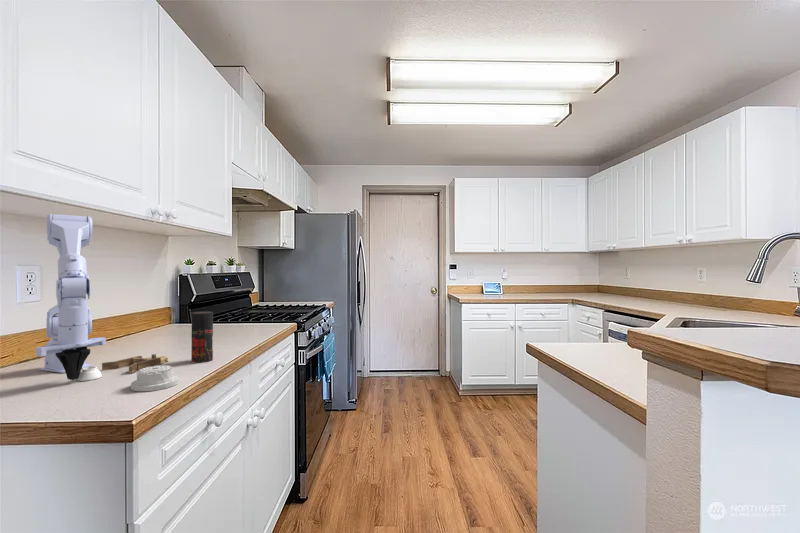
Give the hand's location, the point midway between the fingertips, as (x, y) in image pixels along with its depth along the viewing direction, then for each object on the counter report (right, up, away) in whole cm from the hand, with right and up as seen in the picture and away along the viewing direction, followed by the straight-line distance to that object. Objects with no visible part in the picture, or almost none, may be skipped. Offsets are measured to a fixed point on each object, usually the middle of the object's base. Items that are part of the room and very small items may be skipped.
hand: (73, 378), depth 97 cm
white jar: (+1, -1, +4) cm, 4 cm away
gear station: (+6, -1, +17) cm, 18 cm away
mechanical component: (+22, -2, -2) cm, 22 cm away
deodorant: (+21, -1, +23) cm, 31 cm away
